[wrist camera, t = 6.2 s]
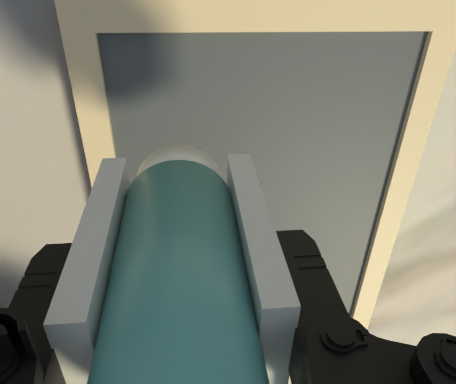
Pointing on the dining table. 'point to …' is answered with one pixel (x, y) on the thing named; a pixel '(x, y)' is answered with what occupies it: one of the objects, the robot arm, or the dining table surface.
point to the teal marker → (178, 282)
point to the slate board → (274, 105)
